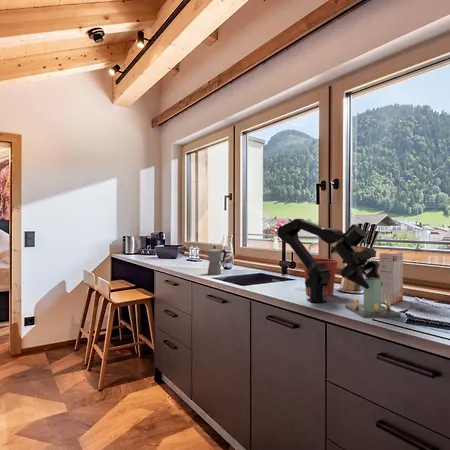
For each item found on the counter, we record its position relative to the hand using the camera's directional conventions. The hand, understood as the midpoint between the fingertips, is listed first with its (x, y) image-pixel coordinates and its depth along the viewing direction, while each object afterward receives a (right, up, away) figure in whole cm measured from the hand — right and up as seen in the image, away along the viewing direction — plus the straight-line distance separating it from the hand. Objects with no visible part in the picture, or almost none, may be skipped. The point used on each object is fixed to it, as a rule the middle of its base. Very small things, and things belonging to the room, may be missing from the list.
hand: (375, 286), depth 135 cm
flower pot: (-11, -10, +36) cm, 39 cm away
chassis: (-1, -10, +2) cm, 10 cm away
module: (-1, -8, +1) cm, 8 cm away
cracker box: (+16, -10, +22) cm, 29 cm away
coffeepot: (-61, -9, +106) cm, 123 cm away
